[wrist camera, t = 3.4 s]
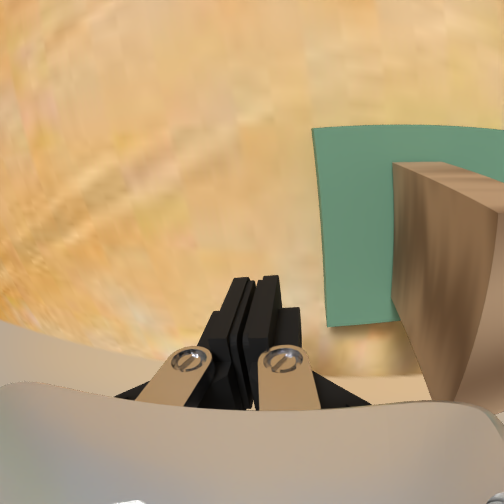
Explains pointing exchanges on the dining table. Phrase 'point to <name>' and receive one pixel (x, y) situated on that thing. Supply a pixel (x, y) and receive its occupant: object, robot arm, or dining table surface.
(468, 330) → the upright wooden plank
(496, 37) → the dining table surface
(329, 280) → the putting mat
